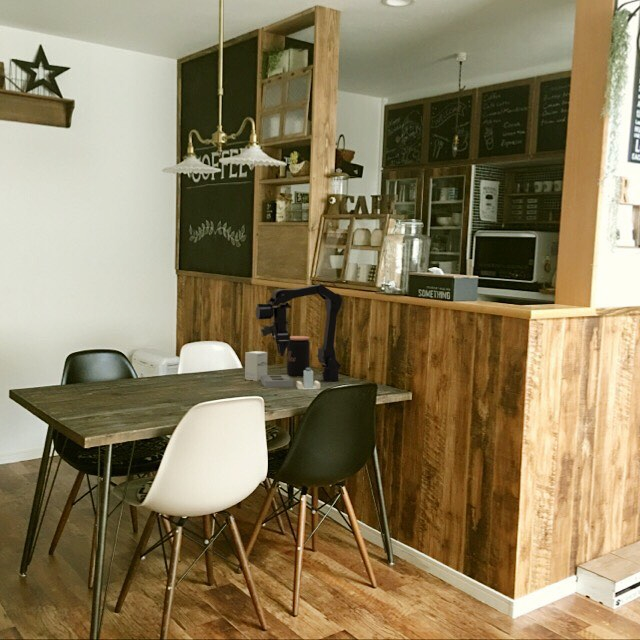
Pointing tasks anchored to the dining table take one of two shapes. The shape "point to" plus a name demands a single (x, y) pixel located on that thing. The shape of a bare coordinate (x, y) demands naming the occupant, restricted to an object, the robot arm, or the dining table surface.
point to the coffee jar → (298, 355)
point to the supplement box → (255, 365)
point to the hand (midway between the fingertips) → (280, 354)
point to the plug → (308, 378)
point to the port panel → (276, 381)
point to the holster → (300, 386)
